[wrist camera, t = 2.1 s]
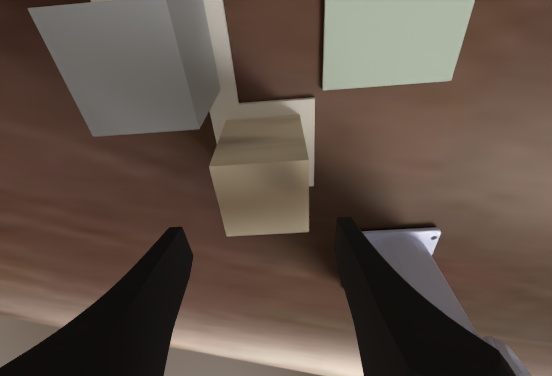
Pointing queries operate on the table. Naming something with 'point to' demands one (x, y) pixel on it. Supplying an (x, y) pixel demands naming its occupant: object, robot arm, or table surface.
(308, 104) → the tile
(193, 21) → the grey block
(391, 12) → the mat
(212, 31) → the tile
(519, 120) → the table surface
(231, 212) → the maple block
